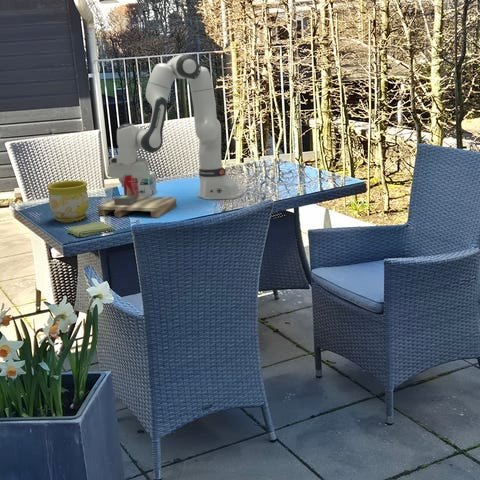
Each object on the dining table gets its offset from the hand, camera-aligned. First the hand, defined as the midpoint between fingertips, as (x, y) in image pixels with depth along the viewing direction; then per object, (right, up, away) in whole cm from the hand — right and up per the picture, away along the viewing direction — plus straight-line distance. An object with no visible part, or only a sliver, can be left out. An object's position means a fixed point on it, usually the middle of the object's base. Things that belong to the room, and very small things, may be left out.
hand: (130, 187), depth 373 cm
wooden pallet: (+4, -12, -5) cm, 13 cm away
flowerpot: (-26, -16, -14) cm, 33 cm away
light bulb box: (+4, -2, +32) cm, 32 cm away
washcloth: (-12, -22, -38) cm, 46 cm away
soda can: (0, -6, +2) cm, 6 cm away
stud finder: (-1, -8, -8) cm, 12 cm away
